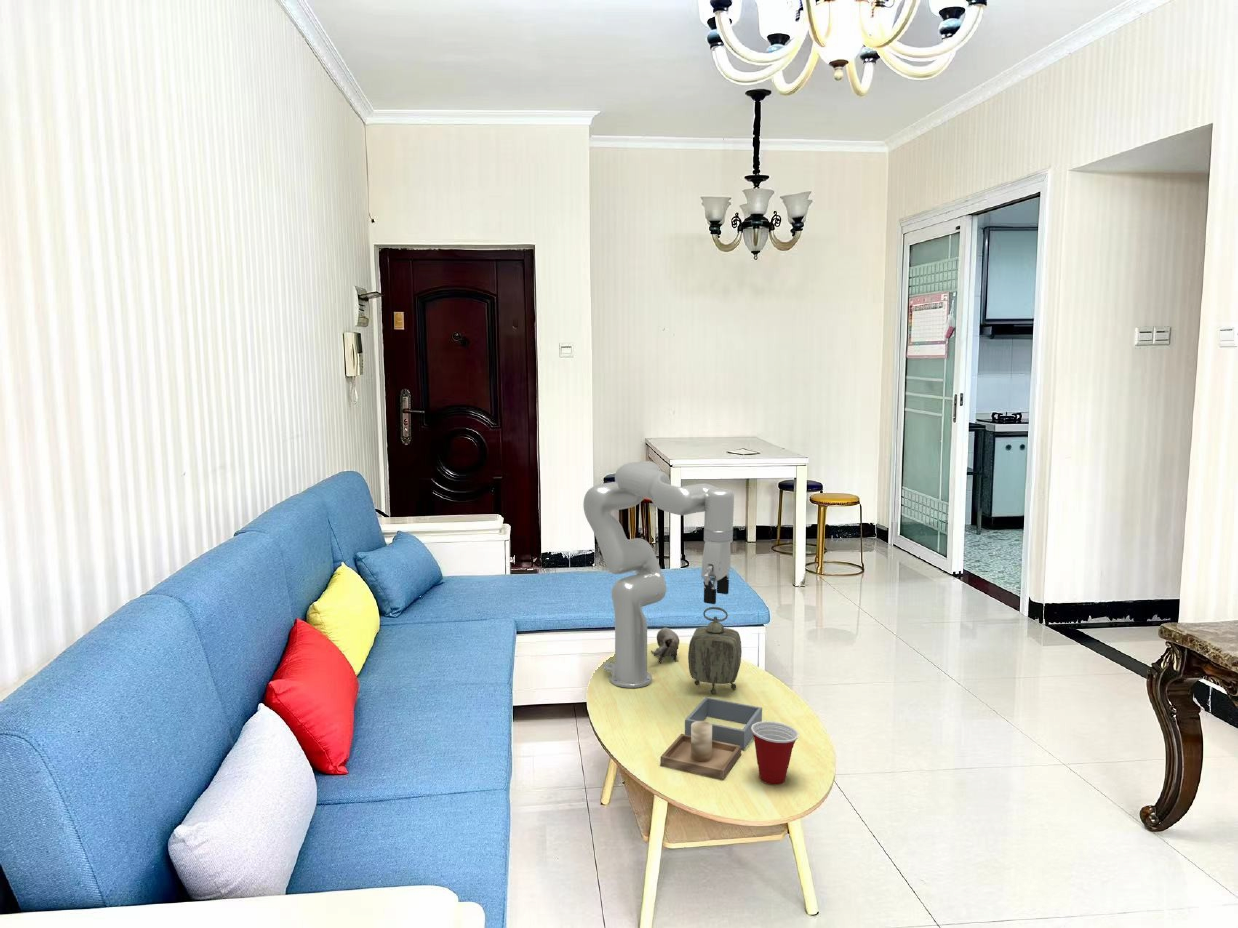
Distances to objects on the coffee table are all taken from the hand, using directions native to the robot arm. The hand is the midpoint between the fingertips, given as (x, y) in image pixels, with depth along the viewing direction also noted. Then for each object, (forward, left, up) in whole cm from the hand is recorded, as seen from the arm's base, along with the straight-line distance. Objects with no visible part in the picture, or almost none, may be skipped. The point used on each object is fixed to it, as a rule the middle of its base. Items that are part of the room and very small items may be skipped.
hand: (716, 598), depth 227 cm
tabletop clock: (-5, +15, -33) cm, 36 cm away
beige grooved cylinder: (+6, -26, -32) cm, 41 cm away
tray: (+6, -26, -32) cm, 42 cm away
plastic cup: (+24, -27, -33) cm, 49 cm away
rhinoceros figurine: (-27, +31, -33) cm, 53 cm away
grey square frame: (+6, -9, -32) cm, 34 cm away
